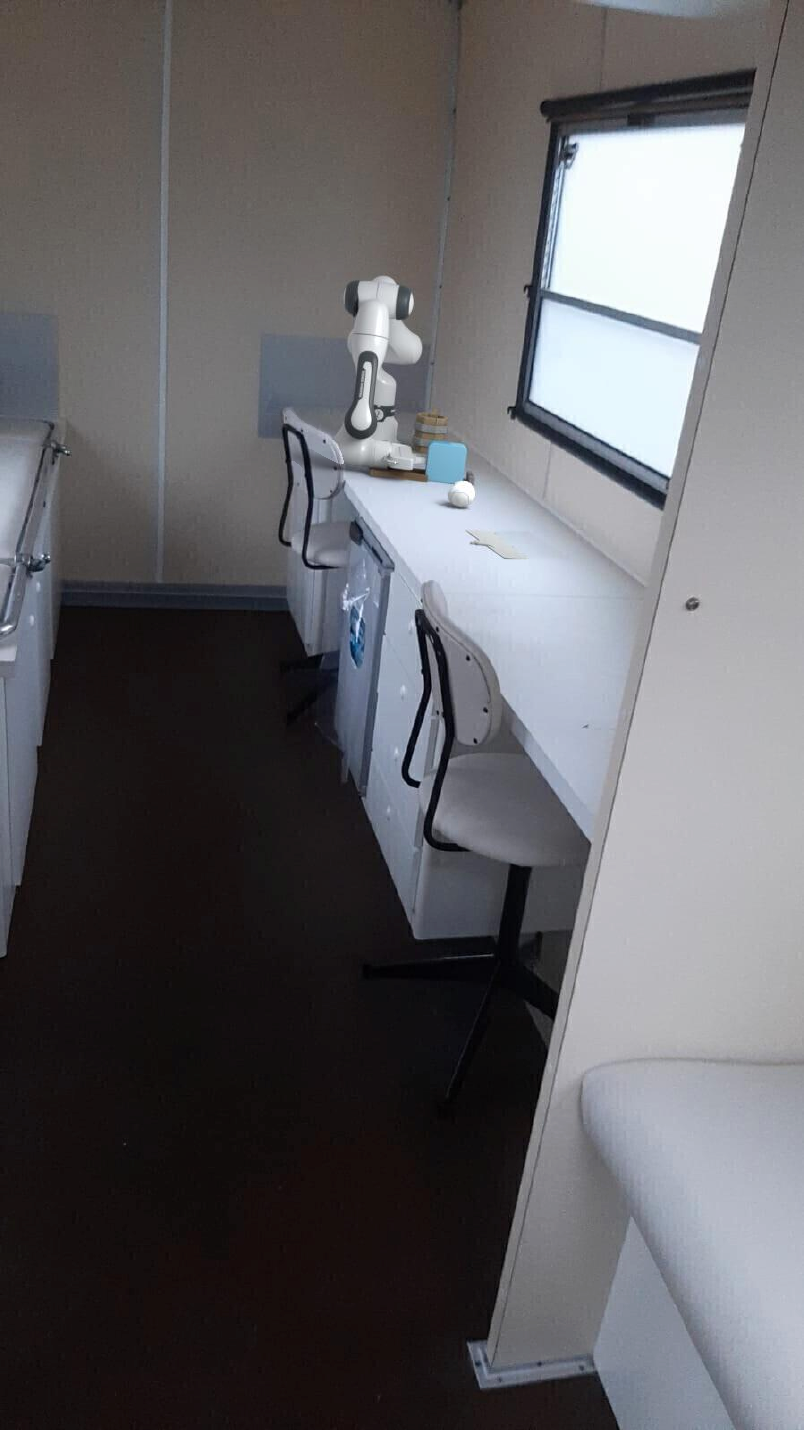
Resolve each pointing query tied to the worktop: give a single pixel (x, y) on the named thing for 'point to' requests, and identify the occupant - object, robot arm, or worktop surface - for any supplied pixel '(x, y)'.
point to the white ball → (461, 494)
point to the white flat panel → (495, 544)
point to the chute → (410, 474)
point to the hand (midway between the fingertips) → (426, 459)
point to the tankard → (428, 431)
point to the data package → (445, 462)
